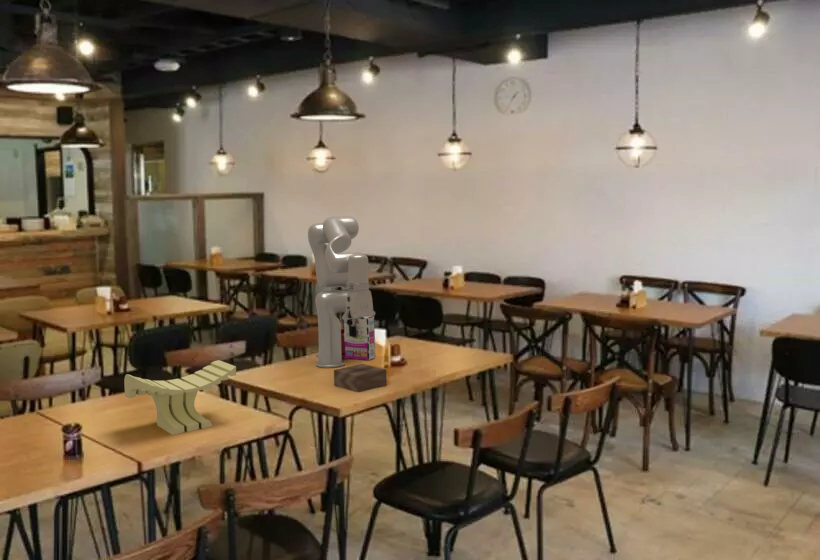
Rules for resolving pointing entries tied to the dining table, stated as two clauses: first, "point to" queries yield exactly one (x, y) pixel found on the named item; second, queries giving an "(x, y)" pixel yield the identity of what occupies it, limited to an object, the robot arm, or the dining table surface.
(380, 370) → the walnut riser
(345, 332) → the candy bar box
